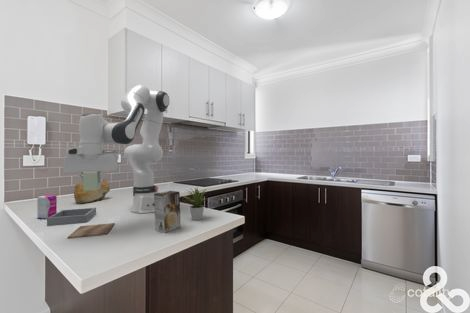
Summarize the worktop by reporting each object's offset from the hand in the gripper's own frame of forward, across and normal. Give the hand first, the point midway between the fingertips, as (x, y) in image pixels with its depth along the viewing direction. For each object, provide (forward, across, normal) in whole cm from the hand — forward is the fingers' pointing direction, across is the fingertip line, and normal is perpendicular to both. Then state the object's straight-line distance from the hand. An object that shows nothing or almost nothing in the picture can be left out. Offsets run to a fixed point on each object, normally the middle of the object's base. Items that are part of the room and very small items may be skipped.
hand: (92, 182), depth 96 cm
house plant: (+21, -46, -4) cm, 51 cm away
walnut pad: (+21, 0, 0) cm, 21 cm away
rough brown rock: (+21, +22, -74) cm, 80 cm away
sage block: (+3, 0, 0) cm, 3 cm away
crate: (+21, +15, -23) cm, 35 cm away
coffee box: (+21, -31, +8) cm, 38 cm away
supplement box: (+21, +30, -32) cm, 49 cm away
